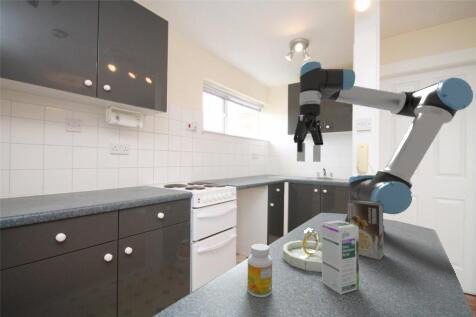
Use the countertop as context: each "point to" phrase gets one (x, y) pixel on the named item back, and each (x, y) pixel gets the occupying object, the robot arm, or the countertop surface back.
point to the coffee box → (368, 226)
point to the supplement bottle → (259, 271)
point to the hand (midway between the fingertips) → (309, 161)
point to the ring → (304, 240)
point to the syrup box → (340, 256)
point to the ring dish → (303, 255)
